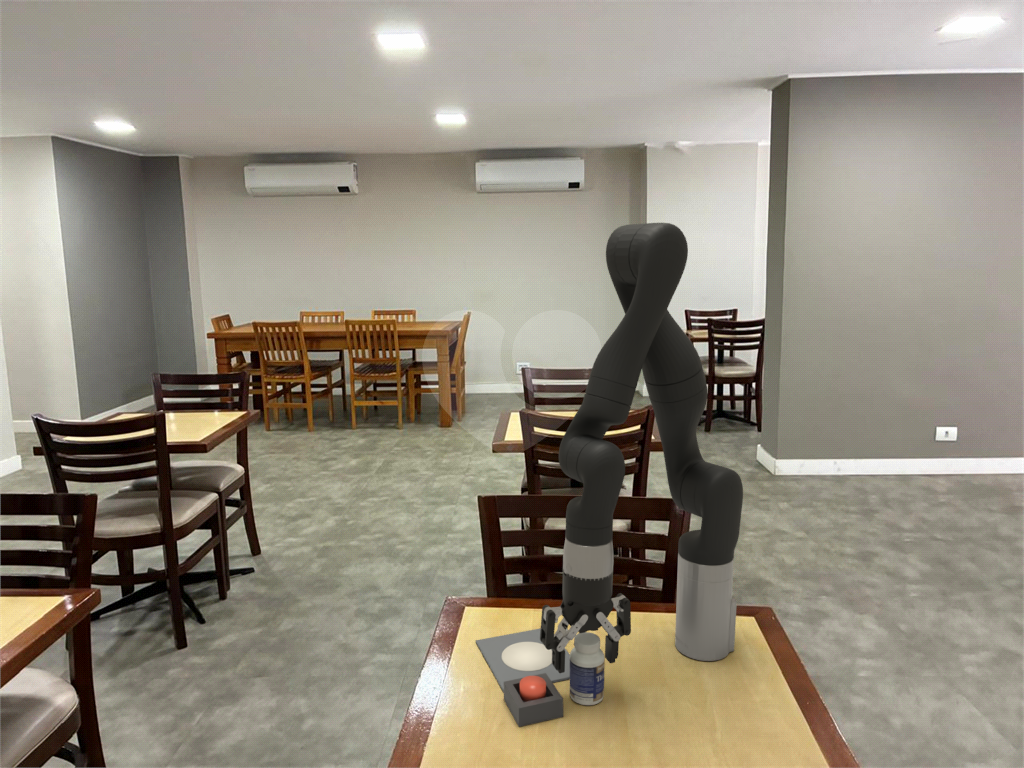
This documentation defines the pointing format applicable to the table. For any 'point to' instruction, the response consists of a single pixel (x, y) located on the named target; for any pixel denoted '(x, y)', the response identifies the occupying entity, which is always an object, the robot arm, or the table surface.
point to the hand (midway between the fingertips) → (585, 665)
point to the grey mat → (520, 657)
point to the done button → (532, 688)
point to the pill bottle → (587, 669)
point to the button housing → (533, 703)
